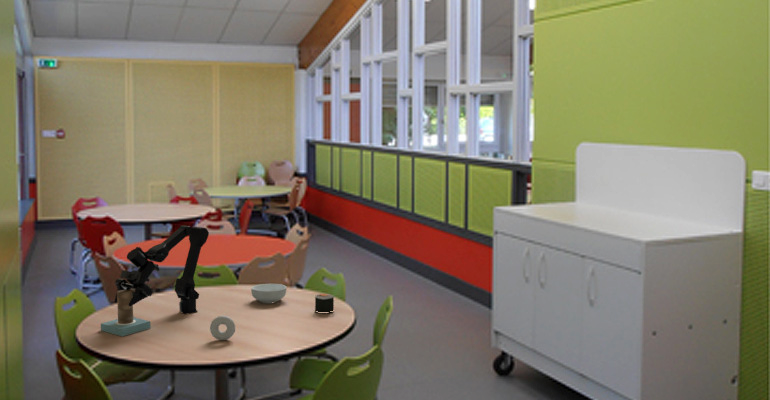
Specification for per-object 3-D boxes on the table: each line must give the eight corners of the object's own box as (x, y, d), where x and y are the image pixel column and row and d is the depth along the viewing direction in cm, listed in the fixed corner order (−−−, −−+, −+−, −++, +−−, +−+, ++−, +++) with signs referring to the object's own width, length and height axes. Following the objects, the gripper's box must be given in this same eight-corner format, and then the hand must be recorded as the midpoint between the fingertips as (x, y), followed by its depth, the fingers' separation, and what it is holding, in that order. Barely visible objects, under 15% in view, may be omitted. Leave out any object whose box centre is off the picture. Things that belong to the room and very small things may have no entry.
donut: (236, 338, 293) (235, 314, 292) (235, 341, 290) (234, 316, 289) (210, 339, 292) (210, 314, 291) (209, 341, 289) (209, 317, 288)
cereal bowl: (293, 300, 354) (293, 285, 353) (271, 307, 340) (270, 292, 339) (267, 295, 363) (267, 281, 362) (244, 302, 349) (243, 288, 348)
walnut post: (135, 319, 307) (134, 289, 305) (130, 323, 301) (129, 293, 299) (121, 319, 307) (120, 289, 305) (115, 323, 301) (114, 293, 299)
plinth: (129, 322, 314) (129, 315, 313) (150, 328, 306) (150, 320, 306) (100, 330, 302) (100, 323, 302) (122, 336, 294) (122, 328, 294)
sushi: (322, 314, 329) (322, 297, 328) (311, 311, 335) (311, 294, 334) (336, 311, 334) (336, 294, 333) (326, 308, 340) (326, 291, 339)
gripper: (117, 259, 309) (95, 290, 301) (146, 265, 299) (124, 296, 291) (133, 274, 317) (112, 304, 309) (162, 280, 306) (141, 311, 299)
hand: (122, 304), depth 302 cm, fingers open, 9 cm apart
